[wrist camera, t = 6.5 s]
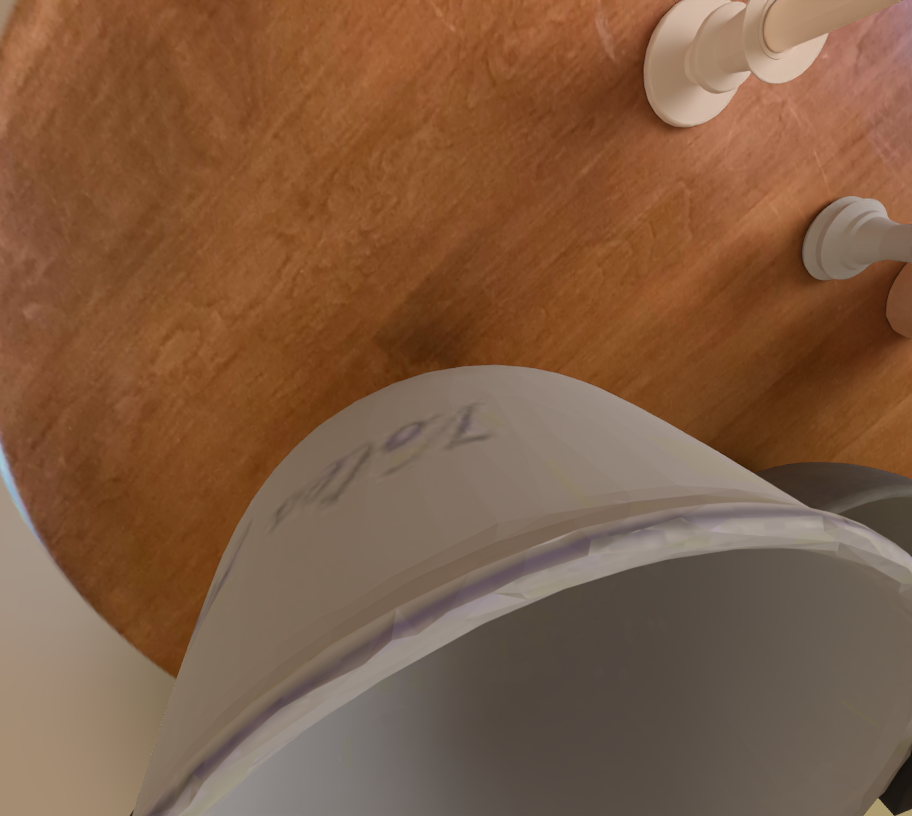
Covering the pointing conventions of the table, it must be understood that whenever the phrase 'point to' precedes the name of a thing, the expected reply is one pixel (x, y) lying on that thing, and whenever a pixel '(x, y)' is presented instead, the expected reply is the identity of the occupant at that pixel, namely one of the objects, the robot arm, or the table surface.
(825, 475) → the bowl
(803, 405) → the table surface
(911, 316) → the potted plant
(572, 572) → the teacup
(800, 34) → the candle
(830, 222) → the chess piece
